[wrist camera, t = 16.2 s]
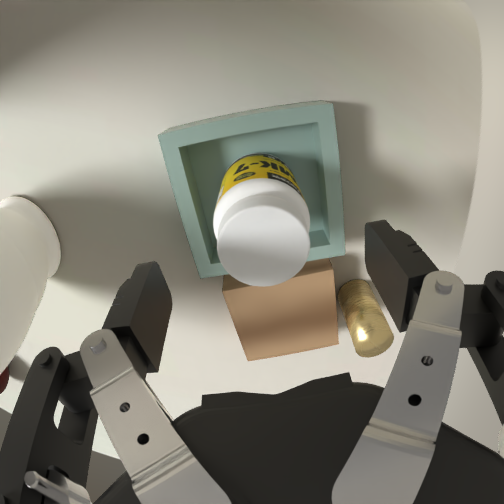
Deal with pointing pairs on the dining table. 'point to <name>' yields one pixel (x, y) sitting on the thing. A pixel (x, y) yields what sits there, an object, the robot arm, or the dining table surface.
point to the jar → (23, 269)
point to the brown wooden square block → (285, 312)
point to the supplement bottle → (261, 221)
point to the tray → (257, 141)
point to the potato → (4, 379)
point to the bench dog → (364, 319)
